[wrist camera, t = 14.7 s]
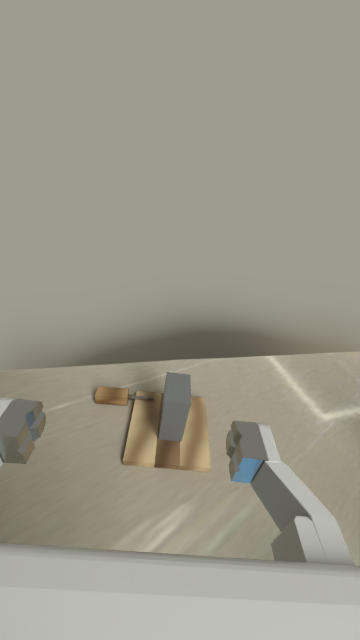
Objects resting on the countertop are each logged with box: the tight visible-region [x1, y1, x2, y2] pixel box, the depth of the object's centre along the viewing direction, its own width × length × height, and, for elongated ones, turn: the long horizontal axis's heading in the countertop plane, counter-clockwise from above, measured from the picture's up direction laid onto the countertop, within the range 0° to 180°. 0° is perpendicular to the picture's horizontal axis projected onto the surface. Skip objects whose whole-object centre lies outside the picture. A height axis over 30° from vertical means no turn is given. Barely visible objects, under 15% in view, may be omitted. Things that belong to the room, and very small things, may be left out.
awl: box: [95, 387, 154, 405], centre depth 49 cm, size 11×2×2 cm, turn 90°
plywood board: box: [123, 391, 211, 472], centre depth 46 cm, size 14×14×1 cm
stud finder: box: [158, 372, 191, 442], centre depth 43 cm, size 4×6×10 cm
